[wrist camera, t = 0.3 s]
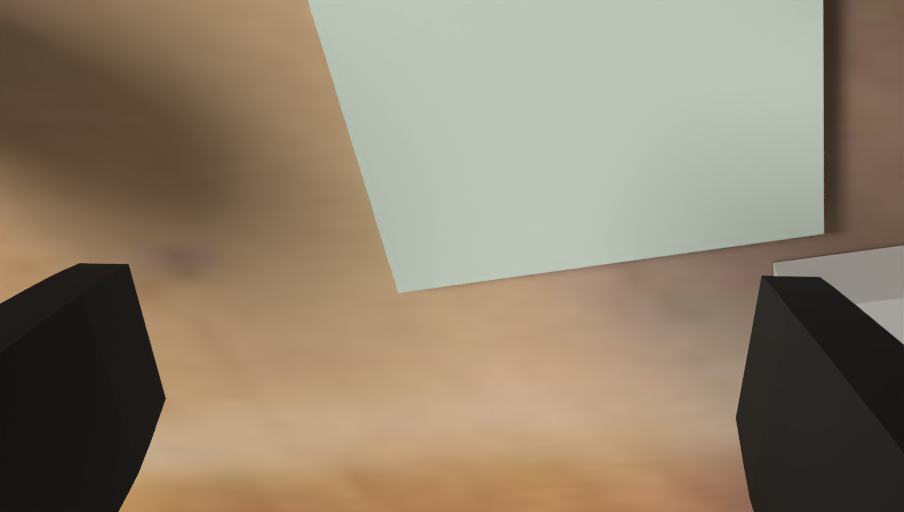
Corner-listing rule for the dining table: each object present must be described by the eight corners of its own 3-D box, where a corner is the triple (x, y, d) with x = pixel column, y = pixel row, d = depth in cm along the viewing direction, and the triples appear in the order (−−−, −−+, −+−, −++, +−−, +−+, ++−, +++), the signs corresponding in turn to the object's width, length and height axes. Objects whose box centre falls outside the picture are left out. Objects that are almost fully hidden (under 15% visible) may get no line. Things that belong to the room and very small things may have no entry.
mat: (816, 220, 20) (823, 233, 19) (401, 279, 22) (398, 293, 21) (811, -277, 15) (822, -277, 14) (273, -143, 17) (264, -139, 16)
